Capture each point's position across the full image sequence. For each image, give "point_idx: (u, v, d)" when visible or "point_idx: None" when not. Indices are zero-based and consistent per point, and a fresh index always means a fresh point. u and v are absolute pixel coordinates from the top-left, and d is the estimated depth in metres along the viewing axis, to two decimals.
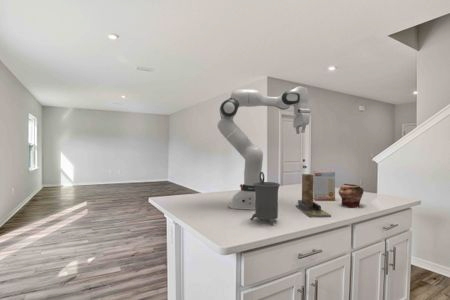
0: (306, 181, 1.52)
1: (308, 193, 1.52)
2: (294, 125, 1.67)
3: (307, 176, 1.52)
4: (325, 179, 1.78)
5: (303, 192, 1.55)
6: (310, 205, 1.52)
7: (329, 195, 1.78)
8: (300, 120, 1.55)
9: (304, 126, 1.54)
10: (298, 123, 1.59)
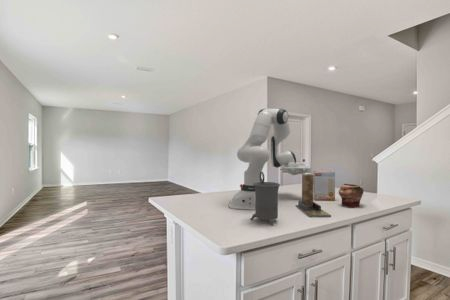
0: (306, 181, 1.52)
1: (308, 193, 1.52)
2: (287, 167, 1.77)
3: (307, 176, 1.52)
4: (325, 179, 1.78)
5: (303, 192, 1.55)
6: (310, 205, 1.52)
7: (329, 195, 1.78)
8: (302, 167, 1.79)
9: None
10: (298, 167, 1.77)
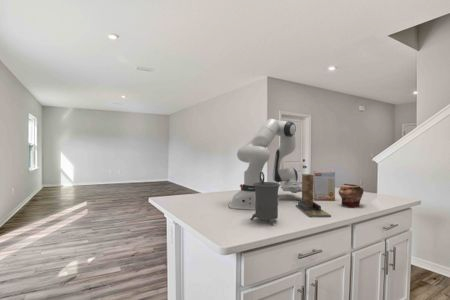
0: (306, 181, 1.52)
1: (308, 193, 1.52)
2: (287, 186, 1.76)
3: (307, 176, 1.52)
4: (325, 179, 1.78)
5: (303, 192, 1.55)
6: (310, 205, 1.52)
7: (329, 195, 1.78)
8: None
9: (301, 189, 1.74)
10: (298, 186, 1.76)
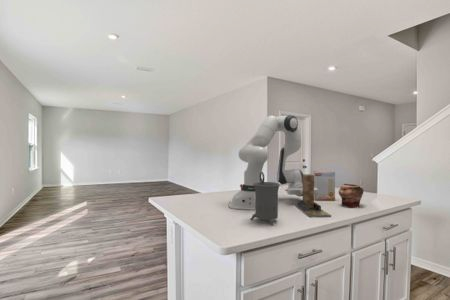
0: (307, 181, 1.51)
1: (309, 193, 1.51)
2: (293, 189, 1.63)
3: (308, 176, 1.51)
4: (325, 179, 1.78)
5: (304, 192, 1.54)
6: (311, 206, 1.51)
7: (329, 195, 1.78)
8: None
9: None
10: None
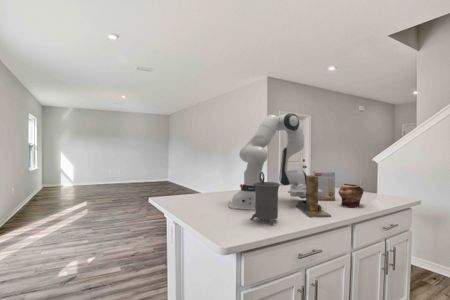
0: (311, 183, 1.45)
1: (313, 195, 1.45)
2: (296, 190, 1.56)
3: (312, 178, 1.45)
4: (325, 179, 1.78)
5: (307, 194, 1.48)
6: (314, 208, 1.45)
7: (329, 195, 1.78)
8: None
9: None
10: None
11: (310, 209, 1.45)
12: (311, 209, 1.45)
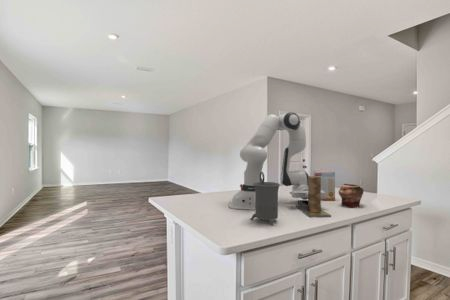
0: (313, 184, 1.41)
1: (315, 196, 1.41)
2: (298, 191, 1.53)
3: (314, 178, 1.41)
4: (325, 179, 1.78)
5: (310, 196, 1.44)
6: (317, 210, 1.41)
7: (329, 195, 1.78)
8: None
9: None
10: None
11: (312, 211, 1.41)
12: (313, 211, 1.41)
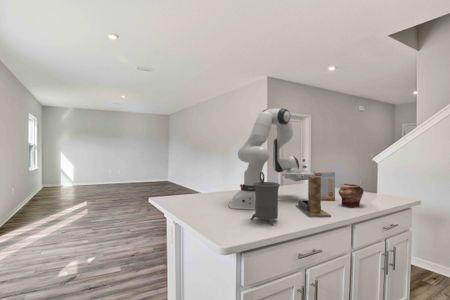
0: (313, 184, 1.41)
1: (315, 196, 1.41)
2: (289, 173, 1.71)
3: (314, 178, 1.41)
4: (325, 179, 1.78)
5: (310, 196, 1.44)
6: (317, 210, 1.41)
7: (329, 195, 1.78)
8: (305, 173, 1.73)
9: None
10: (301, 173, 1.71)
11: (312, 211, 1.41)
12: (313, 211, 1.41)
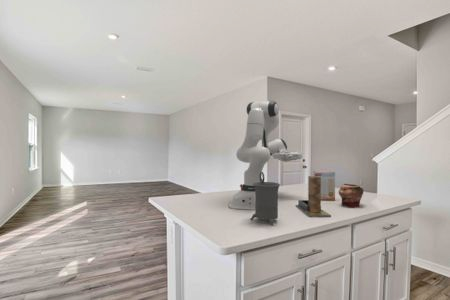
0: (313, 184, 1.41)
1: (315, 196, 1.41)
2: (278, 153, 1.79)
3: (314, 178, 1.41)
4: (325, 179, 1.78)
5: (310, 196, 1.44)
6: (317, 210, 1.41)
7: (329, 195, 1.78)
8: None
9: (292, 156, 1.77)
10: (289, 153, 1.79)
11: (312, 211, 1.41)
12: (313, 211, 1.41)
